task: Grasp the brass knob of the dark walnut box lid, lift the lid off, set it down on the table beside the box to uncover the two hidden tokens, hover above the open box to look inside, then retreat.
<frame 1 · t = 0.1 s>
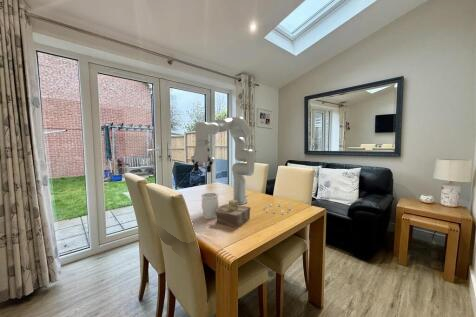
hand: (202, 171, 128), 31 cm above the table, fingers open, 9 cm apart
box: (233, 222, 130), on the table
game piece set: (276, 210, 153), on the table
token cream: (233, 218, 133), point 1 cm above the table, touching box
jar: (210, 217, 138), on the table
lid: (233, 211, 129), point 7 cm above the table, touching box
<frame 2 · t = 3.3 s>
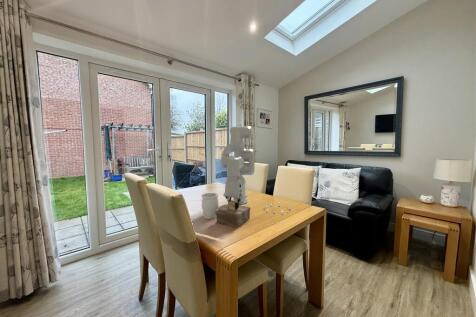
hand: (233, 207, 129), 9 cm above the table, fingers closed on lid, 4 cm apart
lid: (233, 211, 129), point 7 cm above the table, touching box, gripper
everything else where it was.
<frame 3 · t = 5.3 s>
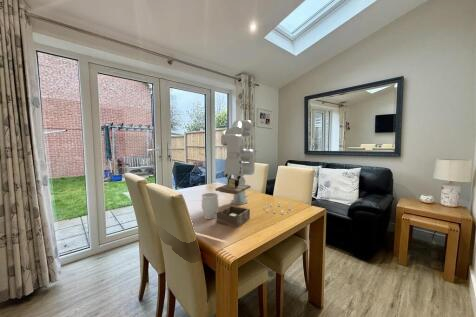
hand: (233, 185, 128), 23 cm above the table, fingers closed on lid, 4 cm apart
lid: (233, 189, 128), point 21 cm above the table, touching gripper
everything else where it was.
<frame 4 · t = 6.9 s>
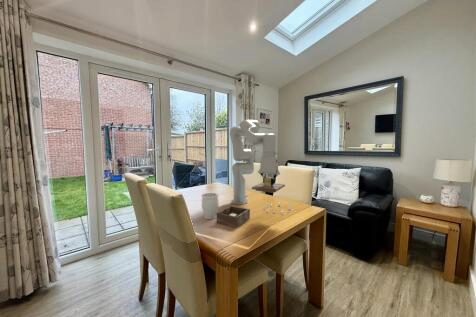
hand: (268, 184, 129), 23 cm above the table, fingers closed on lid, 4 cm apart
lid: (268, 187, 129), point 21 cm above the table, touching gripper
everything else where it was.
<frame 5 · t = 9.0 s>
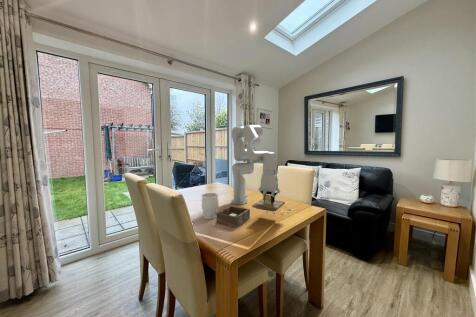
hand: (269, 201, 130), 12 cm above the table, fingers closed on lid, 4 cm apart
lid: (268, 205, 130), point 10 cm above the table, touching gripper
everything else where it was.
when the fingers open (5 cm above the table, at t = 10.8 s): lid drops 2 cm, point 1 cm above the table.
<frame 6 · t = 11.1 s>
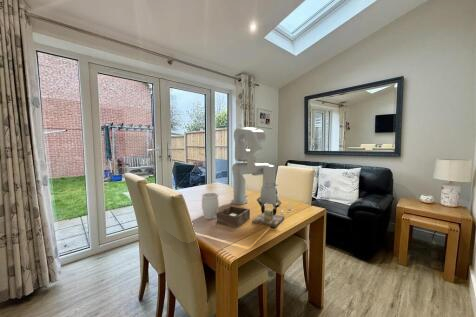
hand: (268, 213, 131), 5 cm above the table, fingers open, 6 cm apart
lid: (268, 220, 131), point 1 cm above the table
everything else where it was.
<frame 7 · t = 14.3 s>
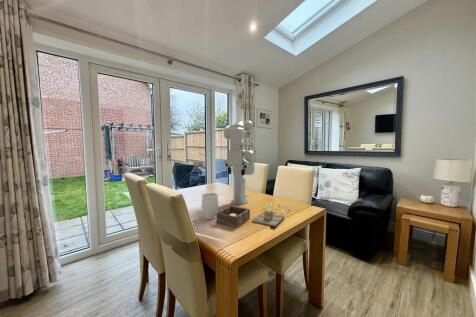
hand: (236, 174, 135), 28 cm above the table, fingers open, 9 cm apart
nothing on the table moved.
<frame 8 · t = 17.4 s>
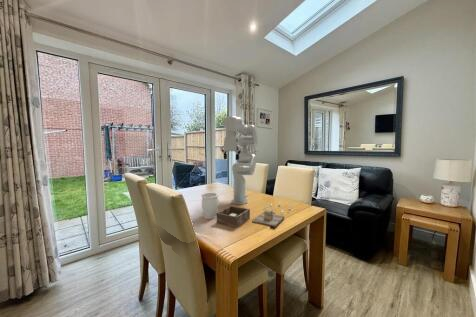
hand: (231, 159, 147), 36 cm above the table, fingers open, 9 cm apart
nothing on the table moved.
at the end: lid inside the target area (0.1 cm from its centre), point 0.6 cm above the table; lid tilted 0°; lid touching table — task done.
